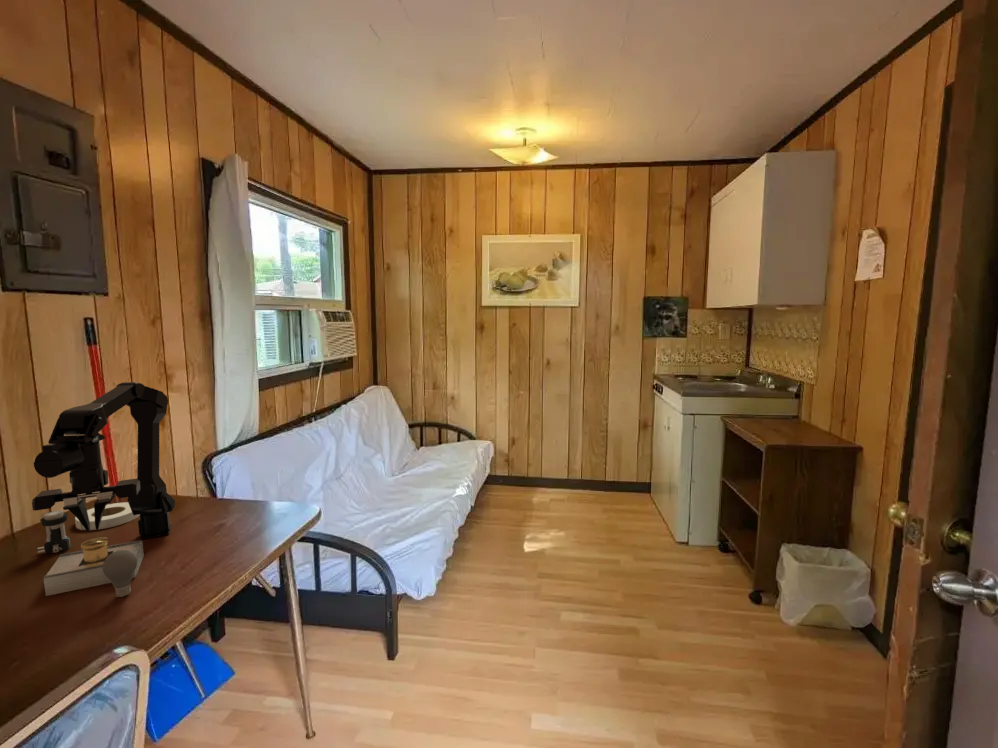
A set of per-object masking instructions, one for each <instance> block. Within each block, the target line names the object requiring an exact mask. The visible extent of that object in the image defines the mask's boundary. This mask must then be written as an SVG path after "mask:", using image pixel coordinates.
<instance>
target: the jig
mask: <svg viewBox="0 0 998 748" xmlns="http://www.w3.org/2000/svg"><path fill="white" fill-rule="evenodd" d="M143 546H144V545H143V539H139V540H132V541H127V542H123V543H122V542H121V543H116V544H109V545H107V549H108V556H109V555H110V554H111V553H113V552H115V551H118V550H128V551H131V552H132V553H134V554H135V556H136V557H137V566H136V568H135V571H134V572H133V574H132V578H131V579H135V578H137V574H138V573H139V569H140V568H141V564H142V561H143V559H144V556H145V555H144V547H143ZM103 563H104V562H98V563H93V564H88V565H85V563H84V555H83V550H82V549H81V550H77V551H72V552H64V553H60V554H59V557H58V558H57V560H56V561H55V563H53V565H52V566H51V568H50V569H49V571H47V573H46V574H45V575H44V576H43V583H44V592H45V597H47V596H52V595H57V594H62V593H66V592H67V593H68V592H72V591H76V590H81V589H82V590H83V589H85V588H91V587H97V586H101V585H107V584H112V581H111V580H110V579H109V578H107V576H105V574H104V572H103V569H102V567H103Z"/></svg>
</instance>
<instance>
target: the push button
mask: <svg viewBox="0 0 998 748" xmlns="http://www.w3.org/2000/svg"><path fill="white" fill-rule="evenodd" d="M68 516H69V514H68V513H67V512H64V511H63V510H54V511H49V512H47V513H45V514H44V516H43V517H42V518H40V519H39V522H40V523H41V526H42V527H45V531H46V539H45V540H46V541H45V543H44V544H43V546H39V547H37V549H36V550H38V551H37V552H36V553H38V554H39V553H45V554H51V553H58V552H62V551H63V552H66V551H68V550H69V549H70V548H71V541H70V537H68V536H67V535H66V527H65V526H66V525H65V522H67V521H68ZM40 549H41V550H40ZM42 549H43V550H42Z"/></svg>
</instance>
